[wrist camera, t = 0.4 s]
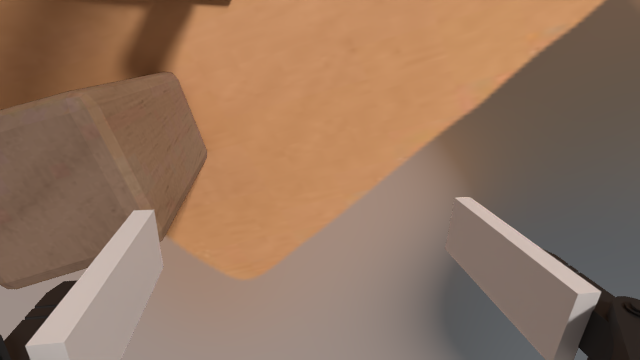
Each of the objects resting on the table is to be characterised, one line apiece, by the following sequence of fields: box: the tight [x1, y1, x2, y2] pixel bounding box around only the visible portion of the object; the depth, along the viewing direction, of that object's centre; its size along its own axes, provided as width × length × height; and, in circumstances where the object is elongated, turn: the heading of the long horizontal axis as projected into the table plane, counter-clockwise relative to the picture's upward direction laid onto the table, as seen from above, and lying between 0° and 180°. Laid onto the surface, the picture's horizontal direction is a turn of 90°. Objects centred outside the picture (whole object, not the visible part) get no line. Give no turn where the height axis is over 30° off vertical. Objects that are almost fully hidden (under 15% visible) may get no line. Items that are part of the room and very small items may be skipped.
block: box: [0, 72, 207, 289], centre depth 27 cm, size 10×10×20 cm
